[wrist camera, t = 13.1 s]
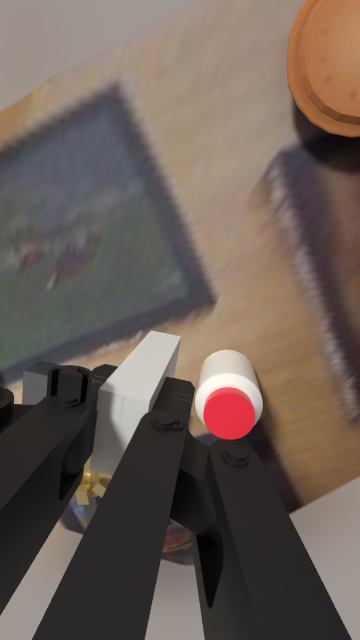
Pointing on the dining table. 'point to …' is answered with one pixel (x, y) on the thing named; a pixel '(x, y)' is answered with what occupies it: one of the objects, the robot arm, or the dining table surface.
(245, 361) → the pill bottle
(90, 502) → the studded gold disc
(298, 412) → the dining table surface
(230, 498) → the robot arm
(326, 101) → the pie
